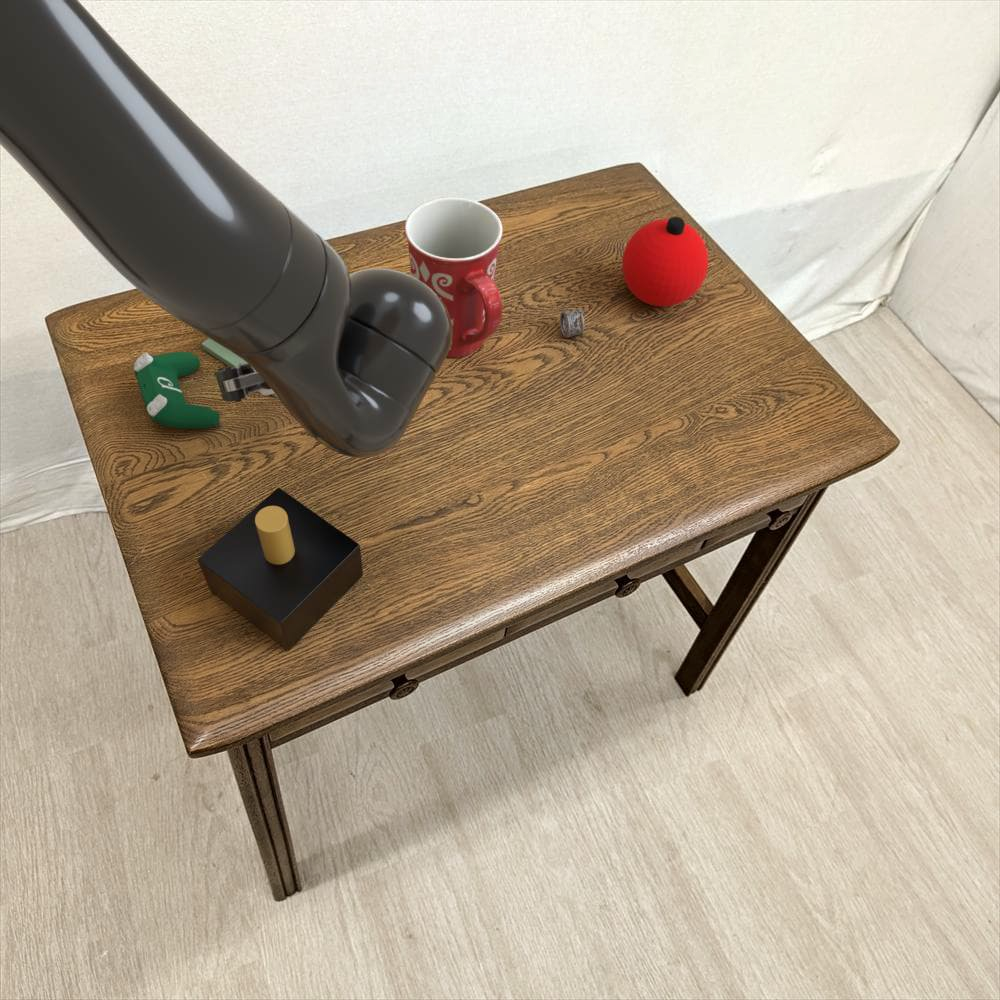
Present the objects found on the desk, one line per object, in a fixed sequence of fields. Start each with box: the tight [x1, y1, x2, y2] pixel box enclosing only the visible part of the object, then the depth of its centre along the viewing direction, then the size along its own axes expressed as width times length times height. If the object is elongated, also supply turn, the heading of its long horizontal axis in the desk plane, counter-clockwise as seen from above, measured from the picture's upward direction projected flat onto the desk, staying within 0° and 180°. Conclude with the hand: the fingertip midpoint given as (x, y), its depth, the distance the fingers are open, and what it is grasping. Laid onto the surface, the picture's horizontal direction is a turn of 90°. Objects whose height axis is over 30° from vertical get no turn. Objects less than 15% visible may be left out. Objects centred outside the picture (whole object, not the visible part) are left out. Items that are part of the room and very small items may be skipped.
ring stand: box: [196, 486, 364, 652], centre depth 71 cm, size 9×9×10 cm
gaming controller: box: [133, 351, 221, 430], centre depth 84 cm, size 9×4×6 cm
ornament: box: [621, 216, 709, 308], centre depth 95 cm, size 9×9×10 cm
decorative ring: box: [559, 308, 585, 339], centre depth 93 cm, size 3×2×3 cm
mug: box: [404, 196, 504, 359], centre depth 87 cm, size 13×9×14 cm
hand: (293, 363), depth 81 cm, fingers open, 8 cm apart
